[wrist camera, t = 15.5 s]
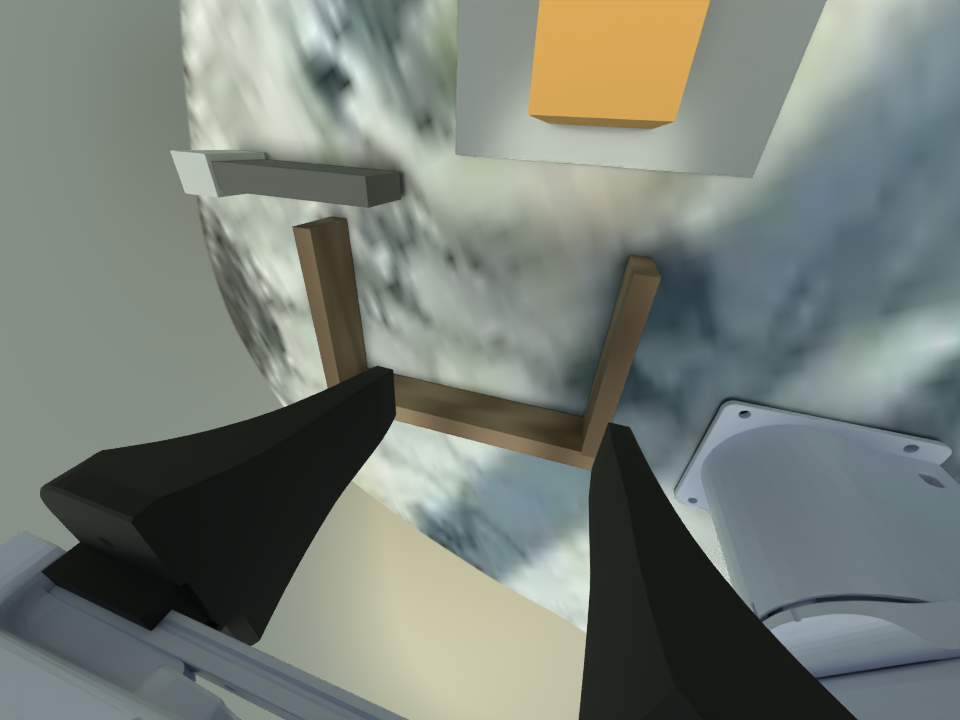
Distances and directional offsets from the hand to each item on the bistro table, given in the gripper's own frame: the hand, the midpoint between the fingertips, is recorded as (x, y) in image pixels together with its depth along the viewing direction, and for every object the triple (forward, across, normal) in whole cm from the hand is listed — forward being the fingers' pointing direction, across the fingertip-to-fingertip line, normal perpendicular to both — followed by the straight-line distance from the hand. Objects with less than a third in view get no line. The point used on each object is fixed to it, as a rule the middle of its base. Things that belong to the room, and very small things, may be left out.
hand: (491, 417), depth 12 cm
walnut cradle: (+9, +4, +2) cm, 10 cm away
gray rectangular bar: (+9, +12, -5) cm, 16 cm away
